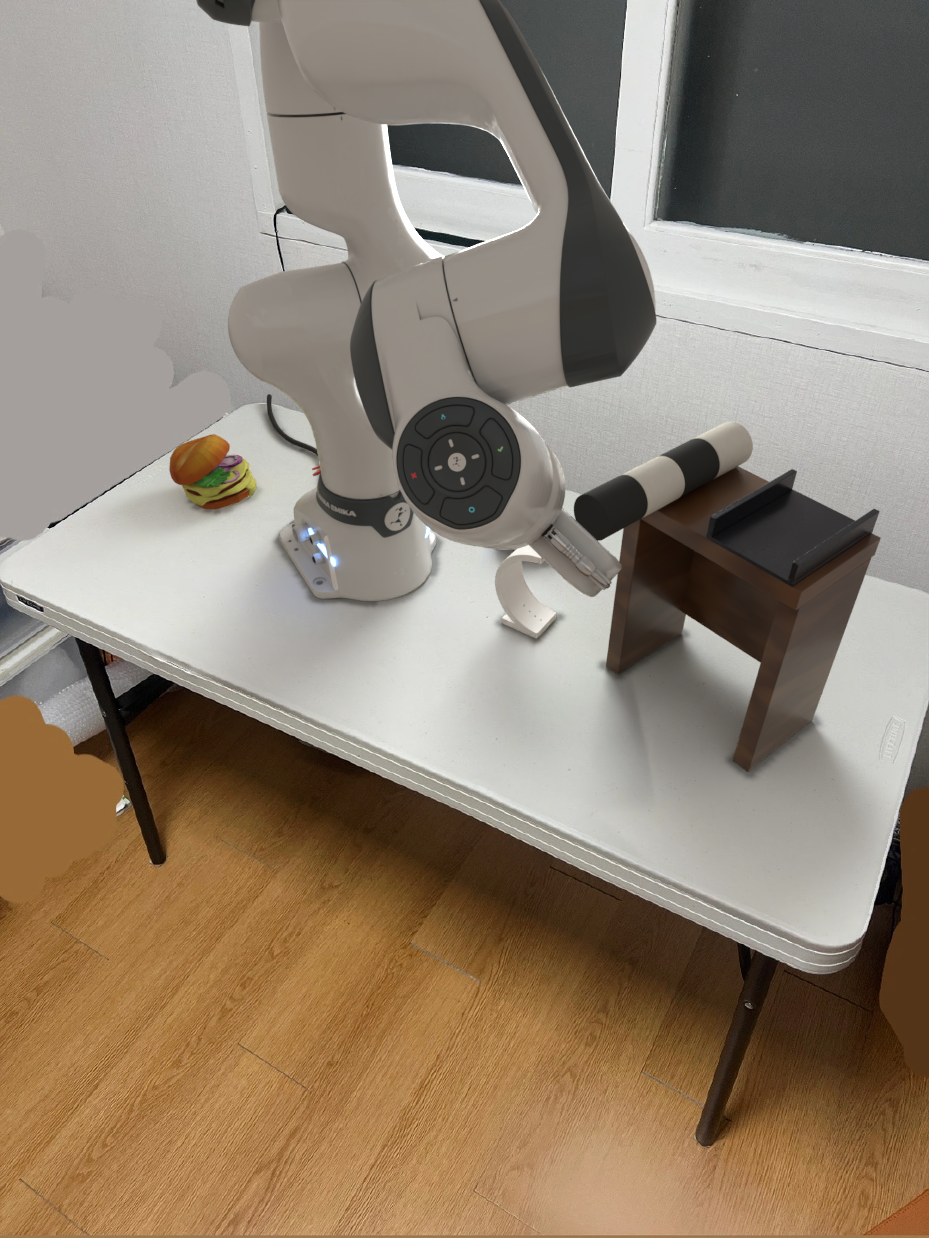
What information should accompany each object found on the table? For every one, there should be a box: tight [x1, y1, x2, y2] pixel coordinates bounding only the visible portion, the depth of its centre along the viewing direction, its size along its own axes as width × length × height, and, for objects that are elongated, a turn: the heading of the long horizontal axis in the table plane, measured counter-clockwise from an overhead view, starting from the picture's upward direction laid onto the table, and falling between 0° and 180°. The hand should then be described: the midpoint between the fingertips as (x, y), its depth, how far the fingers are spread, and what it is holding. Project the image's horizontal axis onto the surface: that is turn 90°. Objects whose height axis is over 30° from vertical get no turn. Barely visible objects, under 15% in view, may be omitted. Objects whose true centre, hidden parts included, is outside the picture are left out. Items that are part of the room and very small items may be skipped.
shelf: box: [605, 465, 882, 773], centre depth 91 cm, size 20×12×24 cm, turn 39°
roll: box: [573, 420, 754, 542], centre depth 84 cm, size 20×4×4 cm
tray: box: [706, 468, 881, 587], centre depth 80 cm, size 9×12×2 cm
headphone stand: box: [494, 545, 558, 640], centre depth 105 cm, size 5×6×12 cm
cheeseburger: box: [169, 433, 257, 510], centre depth 127 cm, size 10×11×10 cm
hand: (526, 502), depth 78 cm, fingers open, 8 cm apart
